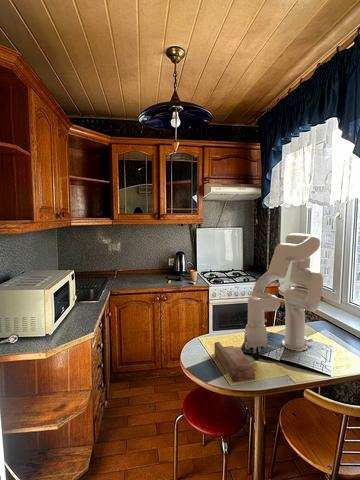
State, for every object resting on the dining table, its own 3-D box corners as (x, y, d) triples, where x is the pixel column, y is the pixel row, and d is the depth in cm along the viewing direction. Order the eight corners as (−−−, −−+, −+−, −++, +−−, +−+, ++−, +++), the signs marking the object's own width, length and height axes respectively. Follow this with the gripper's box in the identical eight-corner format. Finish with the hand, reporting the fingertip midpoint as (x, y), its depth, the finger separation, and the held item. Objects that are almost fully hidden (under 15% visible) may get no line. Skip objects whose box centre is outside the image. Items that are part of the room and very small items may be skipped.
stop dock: (232, 351, 138) (232, 340, 138) (255, 379, 115) (255, 365, 114) (214, 353, 136) (214, 342, 136) (233, 382, 113) (233, 369, 112)
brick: (252, 374, 119) (252, 364, 119) (234, 376, 118) (234, 366, 117) (238, 355, 135) (238, 346, 135) (223, 356, 134) (223, 347, 134)
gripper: (266, 317, 131) (266, 353, 133) (237, 321, 128) (238, 357, 130) (274, 324, 124) (274, 361, 126) (244, 327, 121) (244, 365, 123)
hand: (255, 359), depth 128 cm, fingers closed
